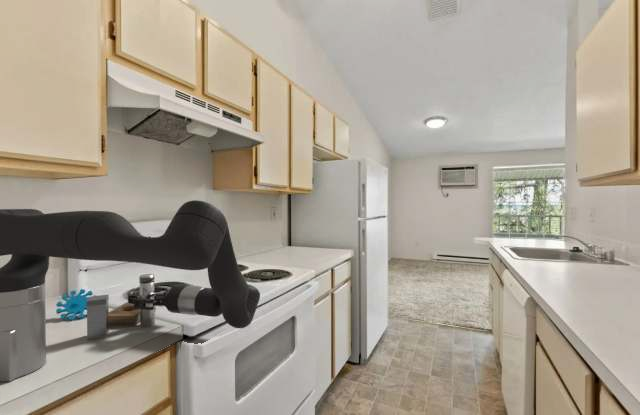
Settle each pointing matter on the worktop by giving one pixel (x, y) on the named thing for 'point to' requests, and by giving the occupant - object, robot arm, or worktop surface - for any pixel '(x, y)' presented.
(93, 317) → the square bit
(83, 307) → the blue virus model
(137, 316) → the socket plate
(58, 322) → the worktop surface
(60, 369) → the worktop surface
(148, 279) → the silver capped cylinder
